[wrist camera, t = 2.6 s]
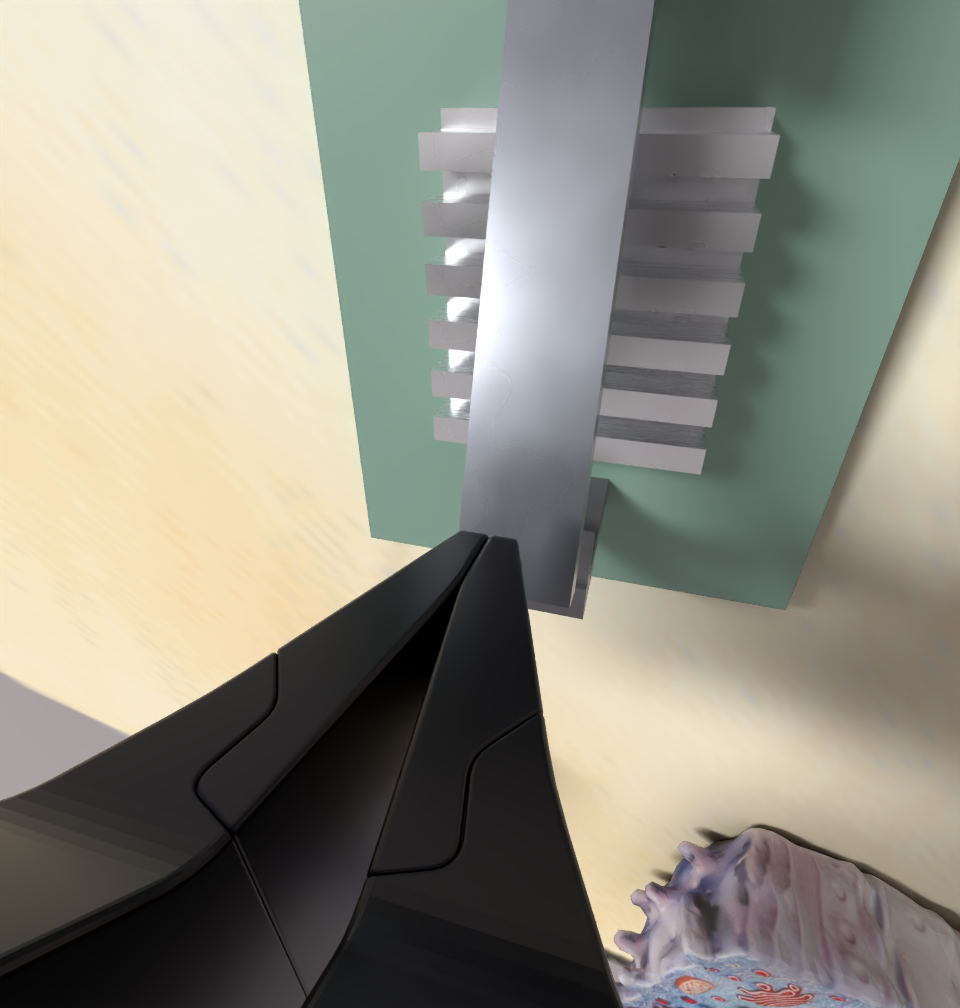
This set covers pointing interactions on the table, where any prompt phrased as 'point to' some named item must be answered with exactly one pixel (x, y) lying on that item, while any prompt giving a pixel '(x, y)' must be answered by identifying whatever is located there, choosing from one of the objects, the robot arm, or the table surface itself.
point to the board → (767, 270)
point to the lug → (583, 552)
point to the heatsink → (643, 273)
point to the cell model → (784, 935)
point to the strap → (552, 274)
